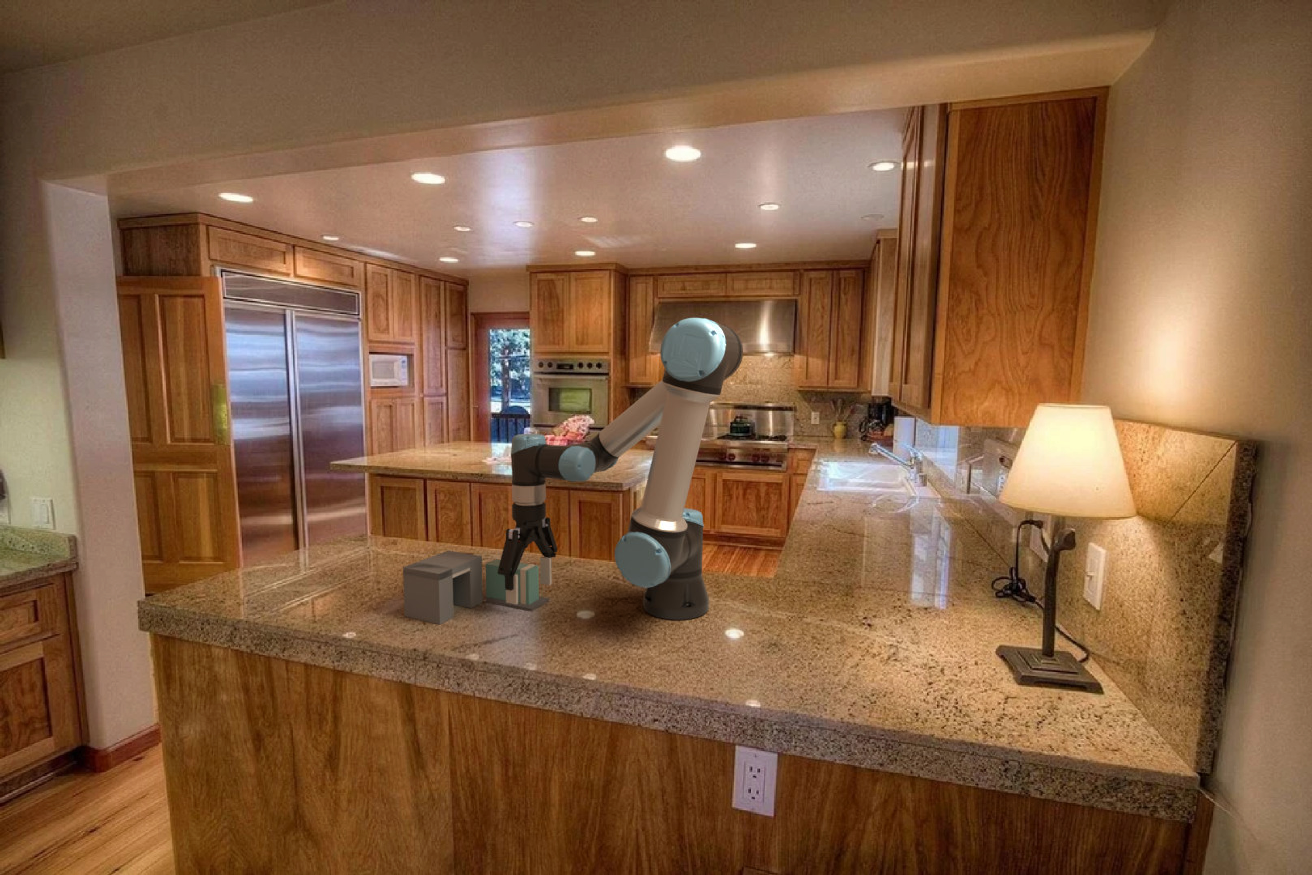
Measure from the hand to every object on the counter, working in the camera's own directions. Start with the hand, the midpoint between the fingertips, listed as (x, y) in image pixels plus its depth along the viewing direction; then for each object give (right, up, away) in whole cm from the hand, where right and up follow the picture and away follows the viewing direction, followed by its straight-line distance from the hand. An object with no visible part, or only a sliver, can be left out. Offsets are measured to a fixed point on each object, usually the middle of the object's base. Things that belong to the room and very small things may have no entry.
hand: (529, 593), depth 132 cm
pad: (-3, -2, +2) cm, 4 cm away
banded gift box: (-5, -2, +2) cm, 5 cm away
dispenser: (-18, -3, -3) cm, 19 cm away
